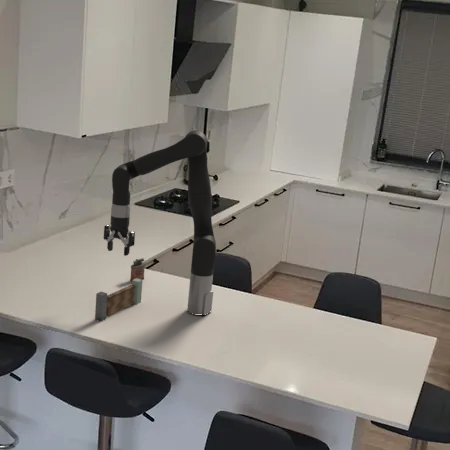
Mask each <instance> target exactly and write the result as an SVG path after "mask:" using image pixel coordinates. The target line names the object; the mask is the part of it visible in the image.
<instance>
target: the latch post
mask: <svg viewBox="0 0 450 450" xmlns="http://www.w3.org/2000/svg"><path fill="white" fill-rule="evenodd" d="M131 285H135V291H134V303H133V304H134V305H138V304H140V303H142V295H143V294H142V293H143V292H142V291H143V280H141V279H138V278H136V279H134V280H132V282H131Z"/></svg>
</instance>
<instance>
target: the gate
mask: <svg viewBox="0 0 450 450" xmlns="http://www.w3.org/2000/svg"><path fill="white" fill-rule="evenodd" d="M134 291H135V285H132V284H130V285H127V286H125V287H123V288H121V289H118V290H116V291H114V292H112V293H110V294H107V309H106V317H107V316H110V315H112V314H115V313H117V312H119V311H121V310H123V309H125V308H127V307H129V306H131V305H133V304H134Z"/></svg>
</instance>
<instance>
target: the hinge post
mask: <svg viewBox="0 0 450 450" xmlns="http://www.w3.org/2000/svg"><path fill="white" fill-rule="evenodd" d="M107 295H108V292H105V291H99V292H97V293H96V294H95V311H94V313H95V315H94V320H95V321H97V320H98V321H97V322H100V321H102V322H104V321H106V320H107V315H106V309H107ZM105 319H106V320H105ZM103 320H104V321H103Z"/></svg>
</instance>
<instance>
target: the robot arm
mask: <svg viewBox="0 0 450 450" xmlns="http://www.w3.org/2000/svg"><path fill="white" fill-rule="evenodd" d="M207 153H208V139H207V136H206V134H205V133H204V132H202V131H201V130H198V129H194V130H191V131H189V132H188V133H187V134H186V135H185V136H184V138H182V139H181V140H179V141H177V142H175V143H174V144H172V145H170V146H167V147H166V148H161V149H159V150H155V151H151V152H149V153H147V154H145V155H143V156H140V157H138V158H136V159H135V160H134V159H133V160H131V161H127V162H125V163H123V164H120V165H118V166H117V167H115V169H114V170H113V172H112V175H111V186H112V198H111V199H112V200H111V201H112V203H111V209H110V223H109V224H107V225H104V226H103V227H104V228H103V239H104V240H105V241H106V242H107V246H106V247H107V251H109V252H111V251H113V249H114V240H115V239H118V240H120V241H121V243H123V245H124V247H123V256H125V257H126V256H128V255H129V254H130V250H131V249H130V248H131V247H132V246H133V247H134V246H135V240H136V239H135V238H136V237H135V236H136V235H135V234H136V232H135V231H130V230H129V227H130V220H131V191H130V181H131V180H133V179H135V178H137V177H139V176H144V175H147V174H150V173H152V172H154V171H156V170H159V169H161V168H163V167H166V166H168V165H170V164H172V163H175V162H179V161H181V160H185V159H187V161H188V174H187V175H188V176H187V193H188V203H189V210H190V214H191V217H192V222H193V243H192V244H193V245H192V256H191V264H190V265H191V266H190V274H189V275H190V276H189V277H190V279H189V287H188V288H189V289H188V298H187V309H186V311H187V310H188V311H189V312H190V313H193V314H202V315H205V314H207V313H209V312H210V311H211V312H212V311H213V310H212V309H213V307H212V306H213V299H214V291H213V290H212V288H213V278H214V272H215V271H214V269H215V261H216V255H217V254H216V253H217V243H216V239H215V234H214V228H213V223H212V215H213V199H212V198H213V197H212V195H213V194H212V187H211V180H210V175H209V174H210V173H209V169H208V154H207ZM188 311H187V312H188ZM189 312H188V313H189ZM190 313H189V314H190ZM193 314H192V315H193ZM209 314H210V313H209ZM207 315H208V314H207Z"/></svg>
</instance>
